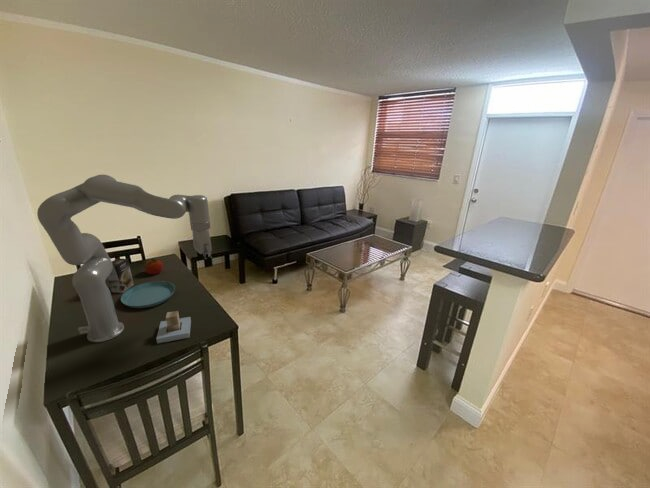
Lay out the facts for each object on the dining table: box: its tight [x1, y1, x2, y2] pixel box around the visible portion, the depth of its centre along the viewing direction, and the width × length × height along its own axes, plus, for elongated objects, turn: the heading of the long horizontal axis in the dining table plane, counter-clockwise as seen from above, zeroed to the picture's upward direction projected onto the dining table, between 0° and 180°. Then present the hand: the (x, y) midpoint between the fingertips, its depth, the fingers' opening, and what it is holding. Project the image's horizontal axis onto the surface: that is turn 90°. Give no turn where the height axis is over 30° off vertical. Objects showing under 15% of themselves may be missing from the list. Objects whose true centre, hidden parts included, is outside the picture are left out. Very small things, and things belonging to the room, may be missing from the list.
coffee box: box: [107, 258, 134, 294], centre depth 151 cm, size 9×6×16 cm
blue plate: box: [120, 280, 176, 309], centre depth 146 cm, size 24×24×3 cm
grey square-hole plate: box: [155, 316, 192, 344], centre depth 122 cm, size 12×12×2 cm
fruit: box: [144, 258, 164, 276], centre depth 170 cm, size 10×10×10 cm
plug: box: [165, 310, 181, 332], centre depth 121 cm, size 4×4×9 cm
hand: (205, 262), depth 123 cm, fingers open, 9 cm apart
